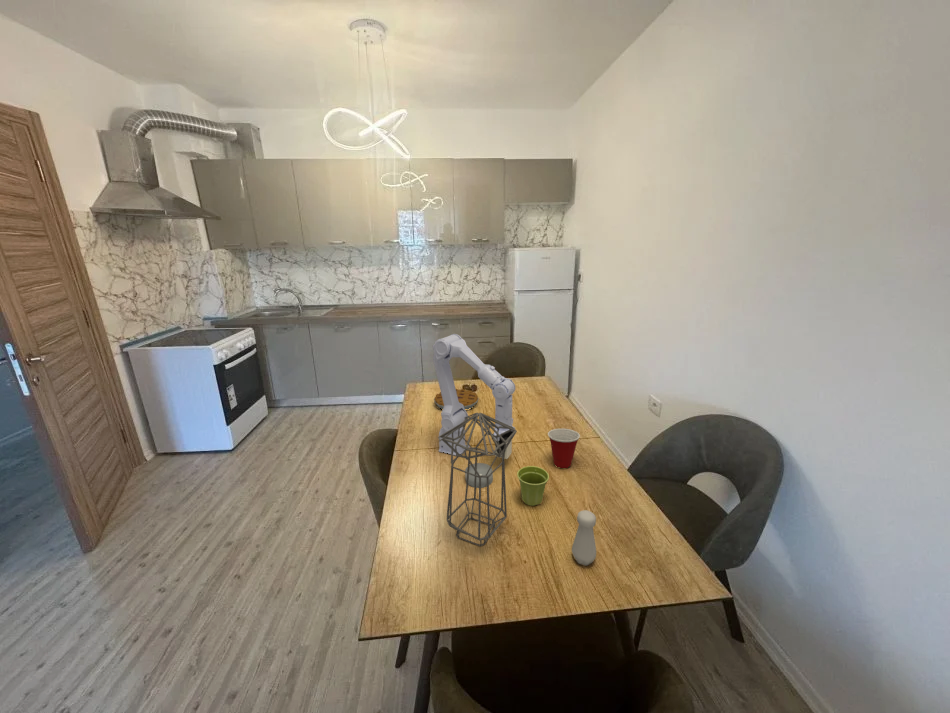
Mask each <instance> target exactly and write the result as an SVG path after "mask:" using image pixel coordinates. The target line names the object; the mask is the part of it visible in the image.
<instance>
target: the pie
mask: <svg viewBox="0 0 950 713" xmlns="http://www.w3.org/2000/svg"><path fill="white" fill-rule="evenodd" d="M455 389H456V393H457V397H458V401H459V403H461V404H463V405H464V409H469V408H472V407H473V406H474V405H476V404H477V403H478V401H479V396H478V394H477V392H474V391H473V390H467V389H463V388H461V389H458V388H455ZM433 401H434V403H435V404H436V406H437V408H438V407H439V408H441V409H443V408H444V403H443V399H442V395H441V391H440V392H439V393H436V394H435V396H434V398H433ZM474 407H475V406H474ZM474 407H473V408H474ZM439 408H438V409H439ZM473 408H472V409H473ZM441 409H440V410H441Z"/></svg>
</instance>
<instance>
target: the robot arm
mask: <svg viewBox="0 0 950 713" xmlns="http://www.w3.org/2000/svg"><path fill="white" fill-rule="evenodd" d="M432 351H433V357H432V362H433V366H434V369H435V374H436V378H437V382H438V386H439V390H440V392H441V395H442V399H443V403H444V408H443V410H441V412H440V414H441V420H440V422H441V423H440V424H441V428H440V429H439V433H438V437H439V436H440V435H442V434H444V433H445V432H447V431H449V430H450V429H452V428H454V427H456V426H457V425H459V424H461V423H462V422H463V421H464V420H465V417H467V416H469V415H468V412H467V411H466V410H465V409H464V405H463V404H461V403H459V401H458V397H457V393H456V389H457V388H456V385H455V381H454V377H453V372H452V370H451V364H450V360H452V358H461V360H463V361H464V362H465V363H467V364H468V366H470V367H472V368H473V369H474V370H475V371H476V373H477V376H478V378H479V379H480V380H481V381H482V382H483V383H484V384H485V385H486V386H487V387H488V388H489V389H490V390H492V391H491V394H492V396H493V397H494V400H495V401H494V402H495V403H494V404H495V406H494V407H495V408H494V409H495V410H494V412H495V415H494V416H495V417H494V419H496V420H498V421H500V422H502V423H505V424H507V425H509V426H511V427H514V428H515V429H516V427H515V426H513V424H514V418H513V394H514V393H515V391H516V384H515V382H514V381H513V380H512V379H511V378H509V377H508V378H507V377H505V376H502V375H501V373H499V372H498V371H497V370H496V369H495V368H496V367H495V366H493V365H491V364H485V363H484V362H483V361H482V360H481V359H480V358H479V357H478V356H477V355H476V353H475V352H473V350H472V349H471V348H470V347H469V346H468V345H467V343H466V339H464V338H462V337H461V335H459V334H457V333H452V334H450V335H448V336H445V337H442V338H438V339H436V340H435V342H434V344H433V345H432ZM494 424H495V425H496V426H498V427H499V426H501V425H499V424H497V423H495V422H494ZM493 428H494V429H495V430H496V431H497V430H498V429H497V428H495V427H493ZM462 429H463V427H461V428H460V434H459V436H460V435H461V432H462ZM465 430H466V429H464V431H465ZM508 430H509V429H504V428H499V432H498V433H499V434H502V433H504V432H506V431H508ZM513 432H514V431H510V432H508V433H506V434H504V435H502V436H501V437H502V438H503V439H504V440H505V441H506V440H507V439H508V438H509V436H510V435H511V434H512V433H513ZM463 433H464V432H463ZM492 434H493V435H495V436H496V435H497V434H496V433H495V432H494V431H493V433H492ZM447 437H451V438H452V434H450V435H449V436H447ZM456 437H458V429H457V430H456V431H454V432H453V438H456ZM490 437H491V436H490ZM494 438H495V437H494ZM441 439H442V438H441V437H440V440H441ZM459 439H460V438H459ZM459 439H457V440H454V442H458V440H459ZM464 439H465V440H466V434H465V435H464ZM464 439H463V438H462V440H461V441H460V443H459V444H461V445H463V446H465V447H466V441H465V440H464ZM497 439H498V442H499V445H500V444H502V443H503V441H502V440H501V439H500V438H499V437H498V438H497ZM497 439H496V438H495V440H496V442H497ZM448 440H450V439H448ZM491 440H492V441H493V439H492V437H491ZM451 441H452V440H451ZM498 442H497V443H498ZM448 443H449V444H450V445H451V446H452V443H450V442H448ZM455 445H456V444H454V447H453V448H454V449H455ZM438 446H439V447H438V448H439V449H438V452H439V453H443V452H444V453H443V454H447V453H448V455H451V448H450V447H449V446H448V445H447V444H445V443H444V442H443V441H442V440H441V441H440V442H439V441H438ZM495 446H496V444H495V443H494V447H495ZM496 447H497V446H496ZM504 447H505V444H504V445H503V446H501V447H500V448H501V451H502V450H503V449H504ZM456 448H457V452H458V453H459V454H461V453H462V452H463V451H464V450H465V449H463V448H462V447H460V446H456ZM468 448H470V446H468ZM501 451H500V453H501ZM497 453H498V450H497ZM453 456H456V453H455V452H454V451H453Z"/></svg>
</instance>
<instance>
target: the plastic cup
mask: <svg viewBox="0 0 950 713" xmlns="http://www.w3.org/2000/svg"><path fill="white" fill-rule="evenodd" d="M547 437H548V438H549V442H550V447H551V453H552V454H551V455H552V462H553V465H554V464H555V465H556V466H557V467H556V466H555V465H554V466H555V467H556V468H558V467H560V468H567V469H569V468H570V467H571V465H572V463H573V459H574V456H575V451H576V448H577V444H578V441H579V440H580V437H581V435H580V433H579V432H578V431H576V430H573V429H569V428H554V429H553V428H552V429H551V430H549V431H548V432H547ZM569 466H570V467H569ZM568 467H569V468H568ZM560 468H559V469H560Z"/></svg>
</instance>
